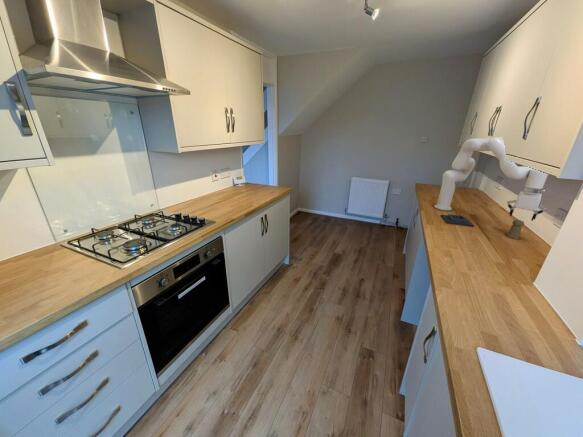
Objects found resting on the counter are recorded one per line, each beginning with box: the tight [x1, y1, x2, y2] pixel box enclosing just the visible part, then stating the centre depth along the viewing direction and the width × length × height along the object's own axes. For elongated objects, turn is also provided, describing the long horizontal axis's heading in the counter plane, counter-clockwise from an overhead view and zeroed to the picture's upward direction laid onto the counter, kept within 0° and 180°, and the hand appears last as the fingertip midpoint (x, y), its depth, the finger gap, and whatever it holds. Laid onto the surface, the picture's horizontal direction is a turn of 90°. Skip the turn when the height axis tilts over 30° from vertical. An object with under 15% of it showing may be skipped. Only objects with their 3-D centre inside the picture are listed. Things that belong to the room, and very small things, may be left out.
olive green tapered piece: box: [506, 219, 525, 240], centre depth 146 cm, size 6×6×11 cm
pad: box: [440, 213, 474, 228], centre depth 171 cm, size 16×16×3 cm
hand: (521, 217), depth 143 cm, fingers open, 9 cm apart
